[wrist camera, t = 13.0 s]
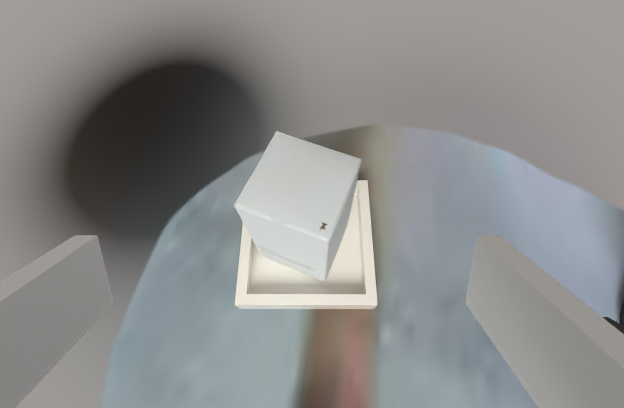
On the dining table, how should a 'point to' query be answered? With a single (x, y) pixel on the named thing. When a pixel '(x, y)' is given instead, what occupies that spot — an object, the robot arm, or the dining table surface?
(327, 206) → the supplement box
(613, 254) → the dining table surface
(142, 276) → the dining table surface
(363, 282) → the stoneware dish
